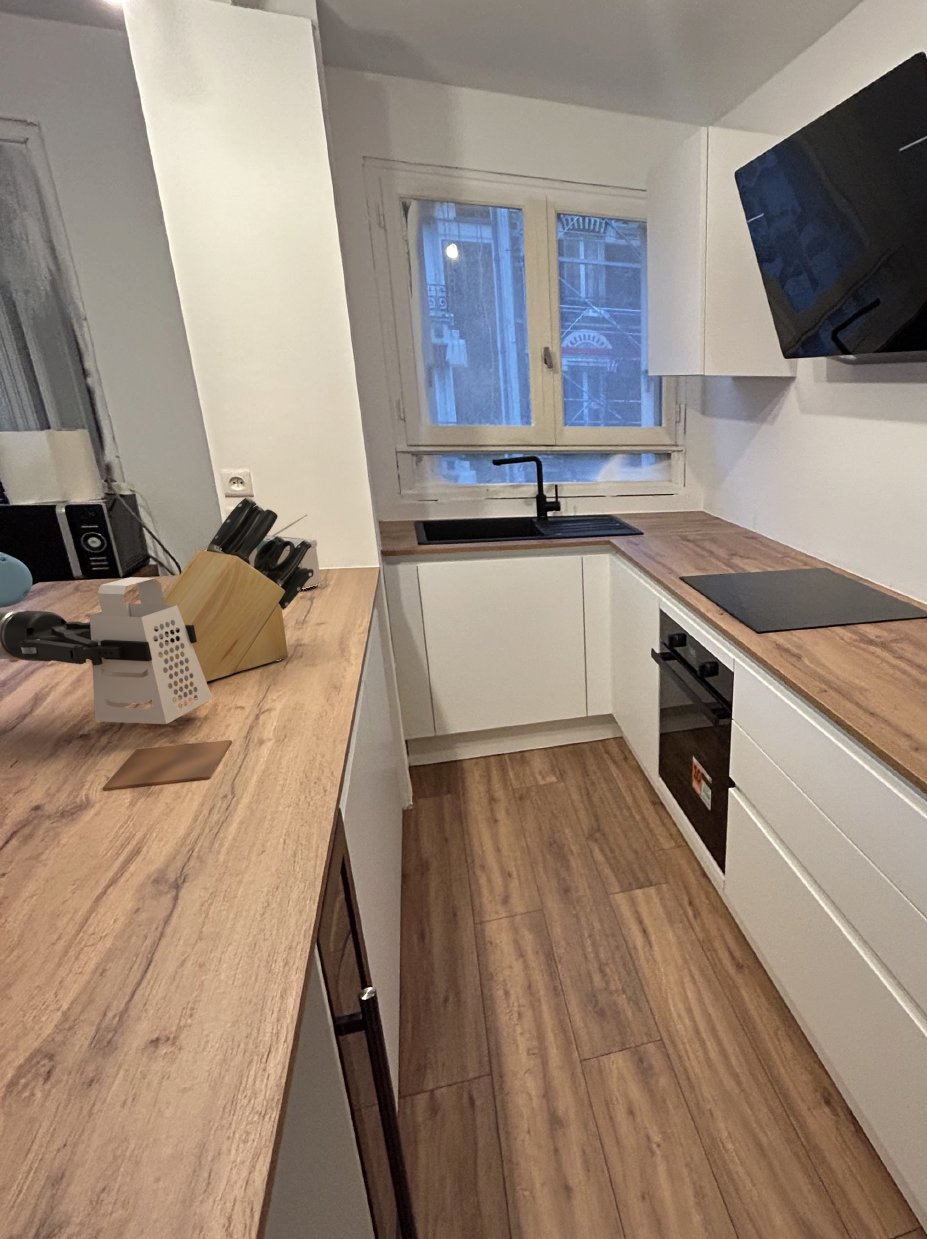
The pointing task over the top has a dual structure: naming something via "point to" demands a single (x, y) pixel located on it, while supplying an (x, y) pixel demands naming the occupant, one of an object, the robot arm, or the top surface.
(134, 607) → the grater
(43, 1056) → the top surface
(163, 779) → the cork trivet
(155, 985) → the top surface
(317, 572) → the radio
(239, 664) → the knife block
